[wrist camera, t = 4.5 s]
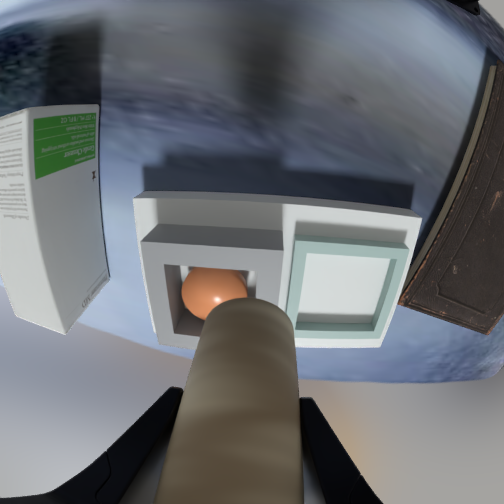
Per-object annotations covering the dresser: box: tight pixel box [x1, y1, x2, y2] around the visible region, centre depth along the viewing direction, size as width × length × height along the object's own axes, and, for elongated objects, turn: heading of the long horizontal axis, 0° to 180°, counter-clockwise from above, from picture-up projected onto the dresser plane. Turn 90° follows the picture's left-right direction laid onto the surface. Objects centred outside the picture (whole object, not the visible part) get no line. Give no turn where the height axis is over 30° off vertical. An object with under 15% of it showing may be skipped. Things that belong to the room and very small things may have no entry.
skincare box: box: [0, 104, 110, 335], centre depth 17 cm, size 8×7×16 cm
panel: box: [133, 191, 422, 350], centre depth 20 cm, size 20×12×5 cm, turn 88°
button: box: [182, 267, 248, 320], centre depth 19 cm, size 4×4×1 cm
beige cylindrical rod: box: [153, 297, 304, 504], centre depth 7 cm, size 4×4×10 cm
